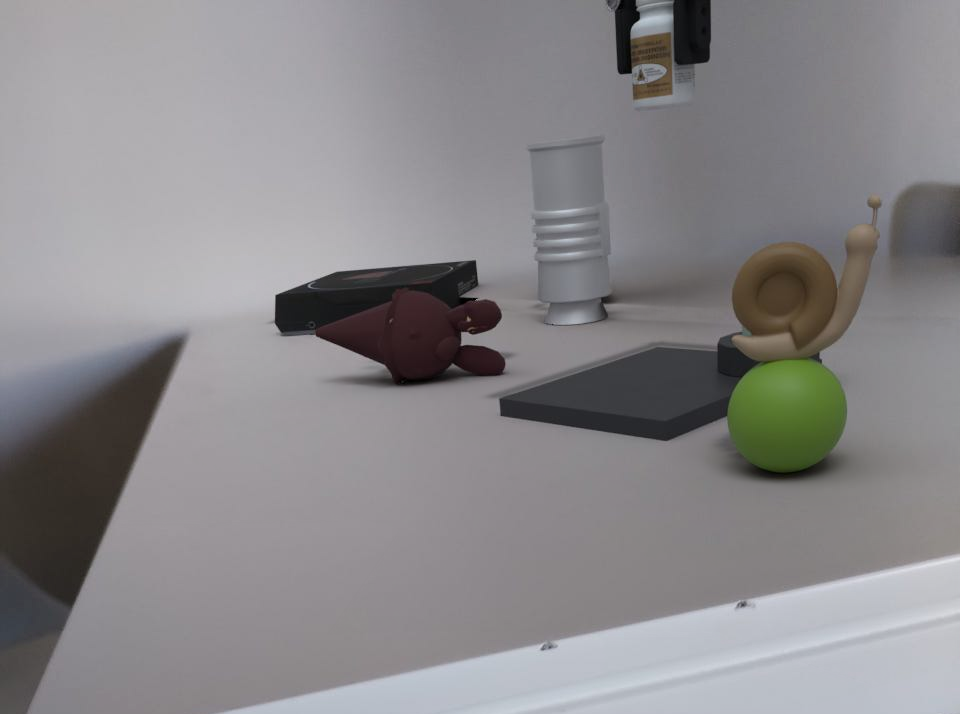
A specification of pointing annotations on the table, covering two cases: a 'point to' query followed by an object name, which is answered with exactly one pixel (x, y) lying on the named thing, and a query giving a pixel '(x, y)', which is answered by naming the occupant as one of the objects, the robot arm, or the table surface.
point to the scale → (641, 392)
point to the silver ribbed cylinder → (571, 228)
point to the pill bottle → (658, 60)
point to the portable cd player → (368, 293)
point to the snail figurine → (794, 349)
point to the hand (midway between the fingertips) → (662, 65)
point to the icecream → (419, 336)
